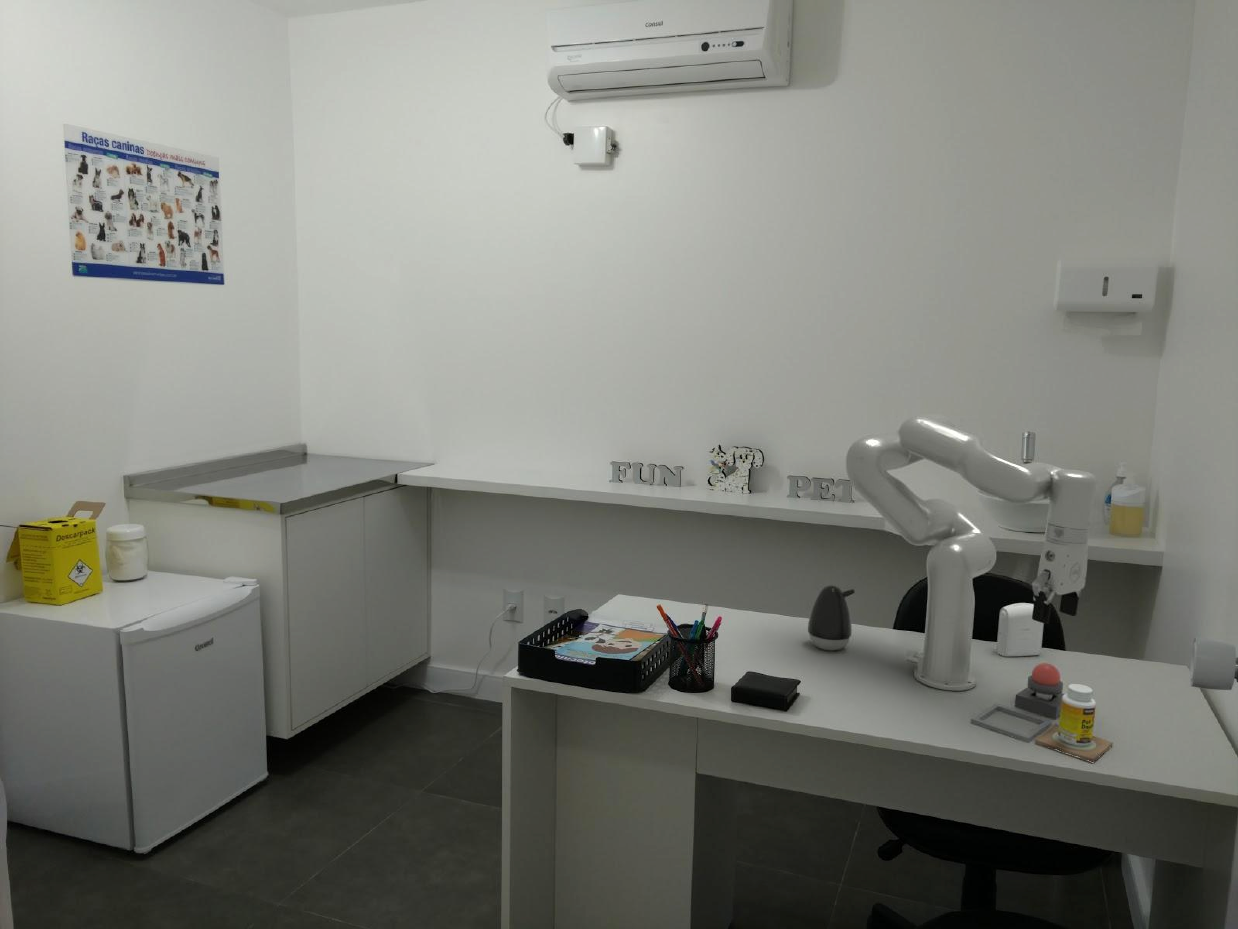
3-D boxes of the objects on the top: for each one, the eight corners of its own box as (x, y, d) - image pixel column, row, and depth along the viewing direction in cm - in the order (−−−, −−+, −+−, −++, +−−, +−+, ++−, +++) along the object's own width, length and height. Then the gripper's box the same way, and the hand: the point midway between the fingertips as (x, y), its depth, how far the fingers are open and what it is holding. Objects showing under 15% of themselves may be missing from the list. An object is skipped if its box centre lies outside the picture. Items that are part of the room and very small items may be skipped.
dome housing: (1014, 706, 180) (1015, 694, 179) (1030, 695, 185) (1031, 684, 185) (1055, 719, 174) (1056, 707, 173) (1070, 708, 179) (1072, 696, 179)
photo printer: (1003, 658, 206) (1008, 607, 204) (993, 651, 211) (997, 601, 209) (1043, 656, 208) (1048, 606, 206) (1032, 650, 212) (1037, 600, 210)
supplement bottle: (1080, 750, 159) (1087, 696, 158) (1051, 738, 164) (1057, 685, 162) (1097, 743, 162) (1103, 690, 161) (1068, 731, 167) (1073, 679, 165)
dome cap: (1021, 699, 179) (1024, 663, 178) (1033, 691, 184) (1037, 655, 183) (1053, 709, 175) (1057, 672, 174) (1066, 701, 179) (1069, 664, 178)
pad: (1034, 743, 163) (1035, 739, 163) (1055, 727, 170) (1056, 723, 170) (1092, 763, 156) (1093, 758, 156) (1112, 746, 163) (1112, 741, 163)
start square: (970, 722, 171) (970, 718, 171) (995, 707, 179) (995, 703, 179) (1028, 742, 164) (1028, 738, 163) (1051, 725, 171) (1051, 721, 171)
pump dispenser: (856, 655, 206) (860, 592, 203) (811, 654, 206) (815, 591, 204) (845, 640, 216) (849, 580, 214) (803, 638, 216) (806, 578, 214)
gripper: (1060, 543, 163) (1047, 631, 166) (1109, 533, 173) (1096, 617, 176) (1023, 533, 169) (1011, 618, 172) (1071, 524, 179) (1059, 605, 182)
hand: (1054, 617), depth 174 cm, fingers open, 9 cm apart
